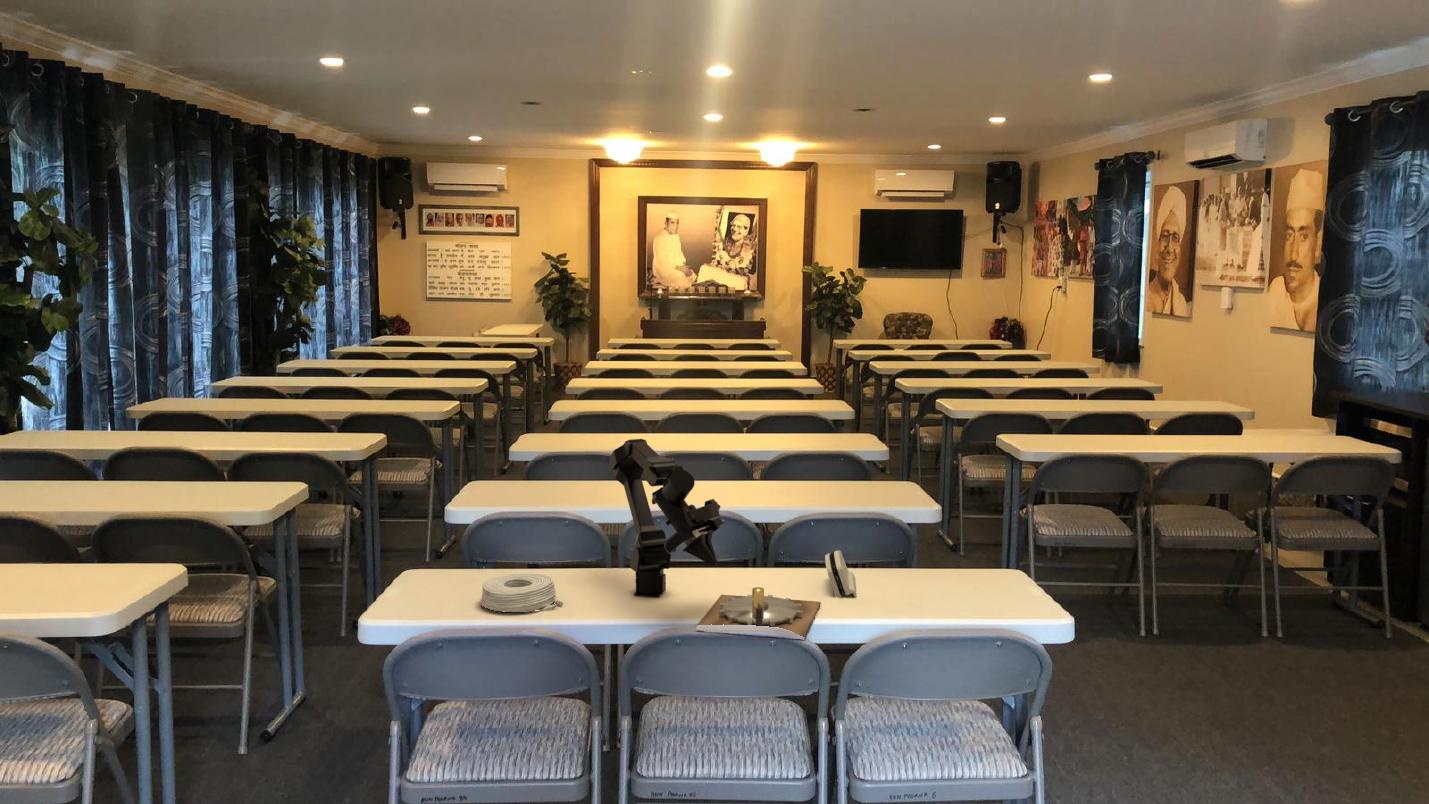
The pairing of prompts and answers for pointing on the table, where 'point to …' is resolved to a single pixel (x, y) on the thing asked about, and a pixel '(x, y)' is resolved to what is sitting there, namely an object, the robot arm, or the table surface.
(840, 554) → the beige layered block
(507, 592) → the cable
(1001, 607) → the table surface
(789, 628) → the index board
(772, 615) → the sprocket
